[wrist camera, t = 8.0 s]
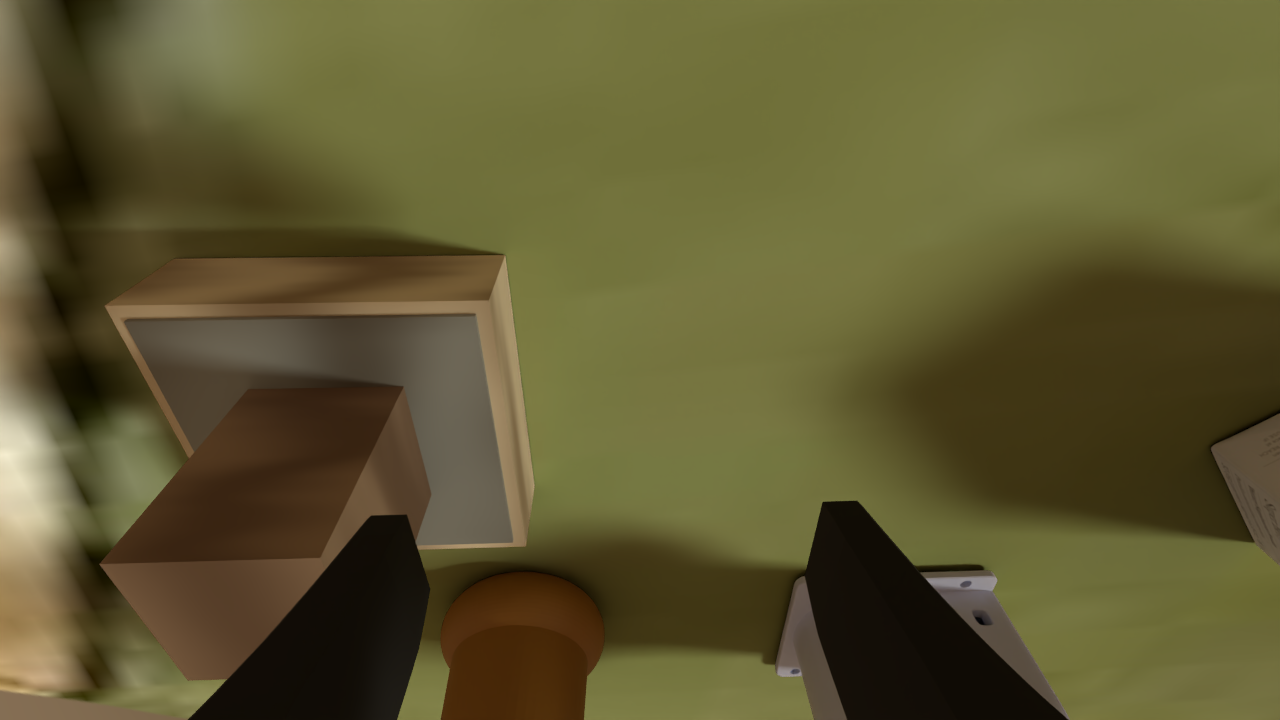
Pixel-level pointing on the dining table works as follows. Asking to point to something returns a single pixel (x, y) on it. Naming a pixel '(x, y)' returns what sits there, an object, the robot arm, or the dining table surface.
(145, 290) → the wooden framed grey panel
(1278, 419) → the supplement box
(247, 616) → the walnut block
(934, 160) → the dining table surface
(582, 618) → the ornamental finial
